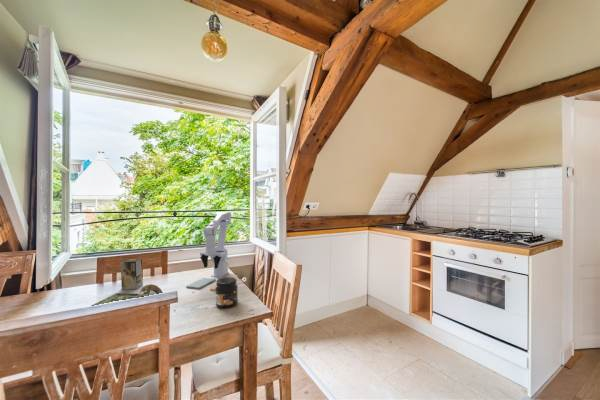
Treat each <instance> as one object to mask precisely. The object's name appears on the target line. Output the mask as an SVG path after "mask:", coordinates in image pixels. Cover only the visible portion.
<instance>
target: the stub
mask: <svg viewBox="0 0 600 400" xmlns="http://www.w3.org/2000/svg"><path fill="white" fill-rule="evenodd" d="M221 278H226V276H222V277H218V278H217V280H219V279H221ZM216 287H217V286H216V285H215V286H213V287H211V288H210V289H209V291H210V292H216V290H215V288H216Z"/></svg>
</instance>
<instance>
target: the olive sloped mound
mask: <svg viewBox="0 0 600 400" xmlns="http://www.w3.org/2000/svg"><path fill="white" fill-rule="evenodd" d="M159 293H163V294H164V292H163V291H162V288H160V287H159V286H158V285H156V284H153V283H150V284H146V285H145V286H142V288H141V289H140V291H139V293H123V292H122V293H121V292H119V293H117V292H116V293H115V294H112V295H110V296H107V297H106V298H104V299H102V300H100V301H98V302H96V303H93V304H91V305H90V306H94V305H99V304H104V303H109V302H113V301H119V300H126V299H132V298H139V297H144V296H149V295H154V294H159Z"/></svg>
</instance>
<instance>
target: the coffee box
mask: <svg viewBox="0 0 600 400" xmlns="http://www.w3.org/2000/svg"><path fill="white" fill-rule="evenodd" d="M120 280H121V290H133V289H135V290H136V289H139V288H141V287H143V282H144V281H143V259H142V258H131V259H130V258H129V259H125V260H123V261H120Z"/></svg>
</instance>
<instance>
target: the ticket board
mask: <svg viewBox="0 0 600 400" xmlns="http://www.w3.org/2000/svg"><path fill="white" fill-rule="evenodd" d="M214 282H216V278H209V277H202V278H201V279H198V280H196V281H194V282H192V283H189V284H188V285H186V289H193V290H201V289H203V288H205V287H207V286H209V285H210V284H212V283H214Z"/></svg>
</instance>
